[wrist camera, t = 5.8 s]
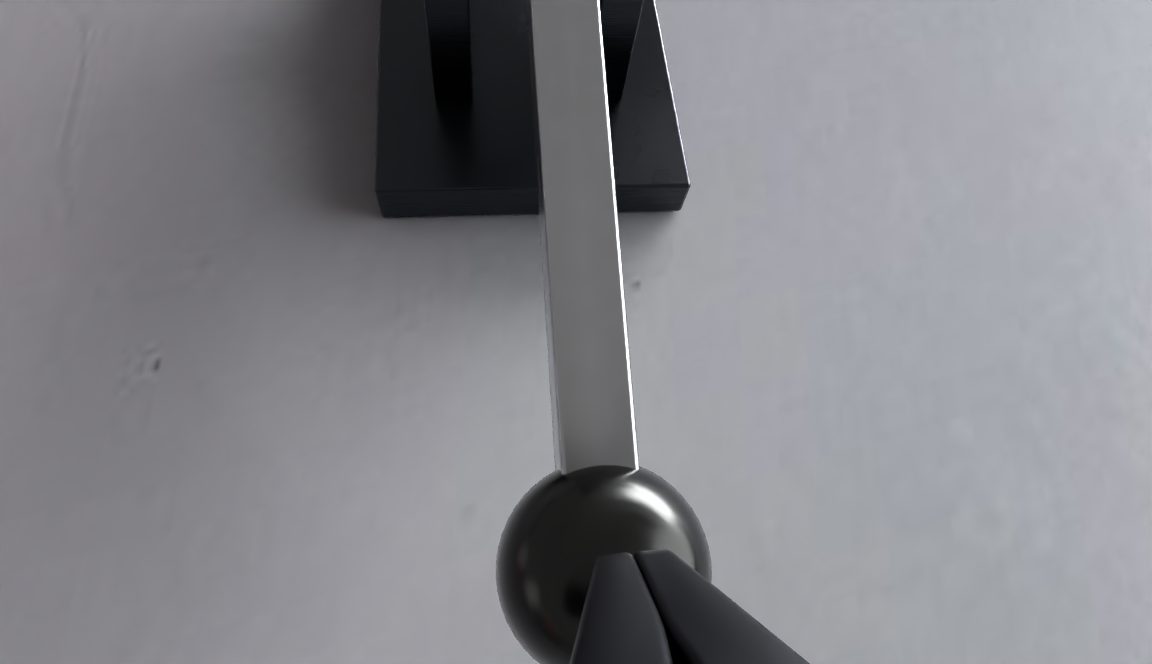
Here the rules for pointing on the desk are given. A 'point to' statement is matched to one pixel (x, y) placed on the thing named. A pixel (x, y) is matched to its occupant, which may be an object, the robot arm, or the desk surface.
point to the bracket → (509, 109)
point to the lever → (581, 358)
